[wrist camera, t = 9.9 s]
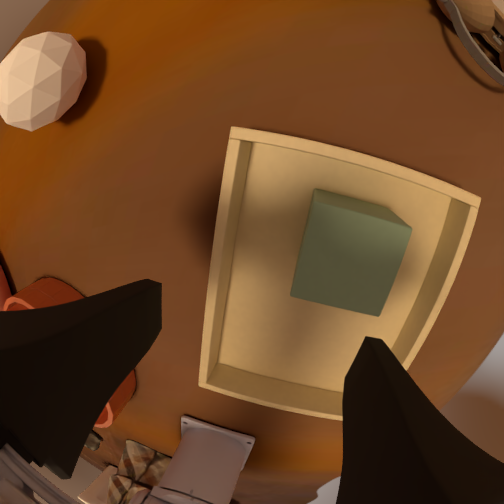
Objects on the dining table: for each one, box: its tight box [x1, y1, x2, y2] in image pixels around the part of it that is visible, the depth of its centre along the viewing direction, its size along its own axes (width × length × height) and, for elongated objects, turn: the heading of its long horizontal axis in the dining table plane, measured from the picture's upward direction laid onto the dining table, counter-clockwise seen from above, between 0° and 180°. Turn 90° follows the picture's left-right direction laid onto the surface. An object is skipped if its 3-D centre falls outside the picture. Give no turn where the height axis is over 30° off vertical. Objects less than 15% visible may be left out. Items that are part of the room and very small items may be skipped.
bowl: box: [4, 278, 136, 428], centre depth 24 cm, size 17×17×5 cm
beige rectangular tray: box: [198, 126, 481, 421], centre depth 16 cm, size 17×13×3 cm
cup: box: [78, 465, 118, 504], centre depth 36 cm, size 10×10×13 cm
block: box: [290, 188, 412, 317], centre depth 13 cm, size 4×4×4 cm
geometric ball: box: [0, 31, 87, 131], centre depth 12 cm, size 8×8×8 cm
